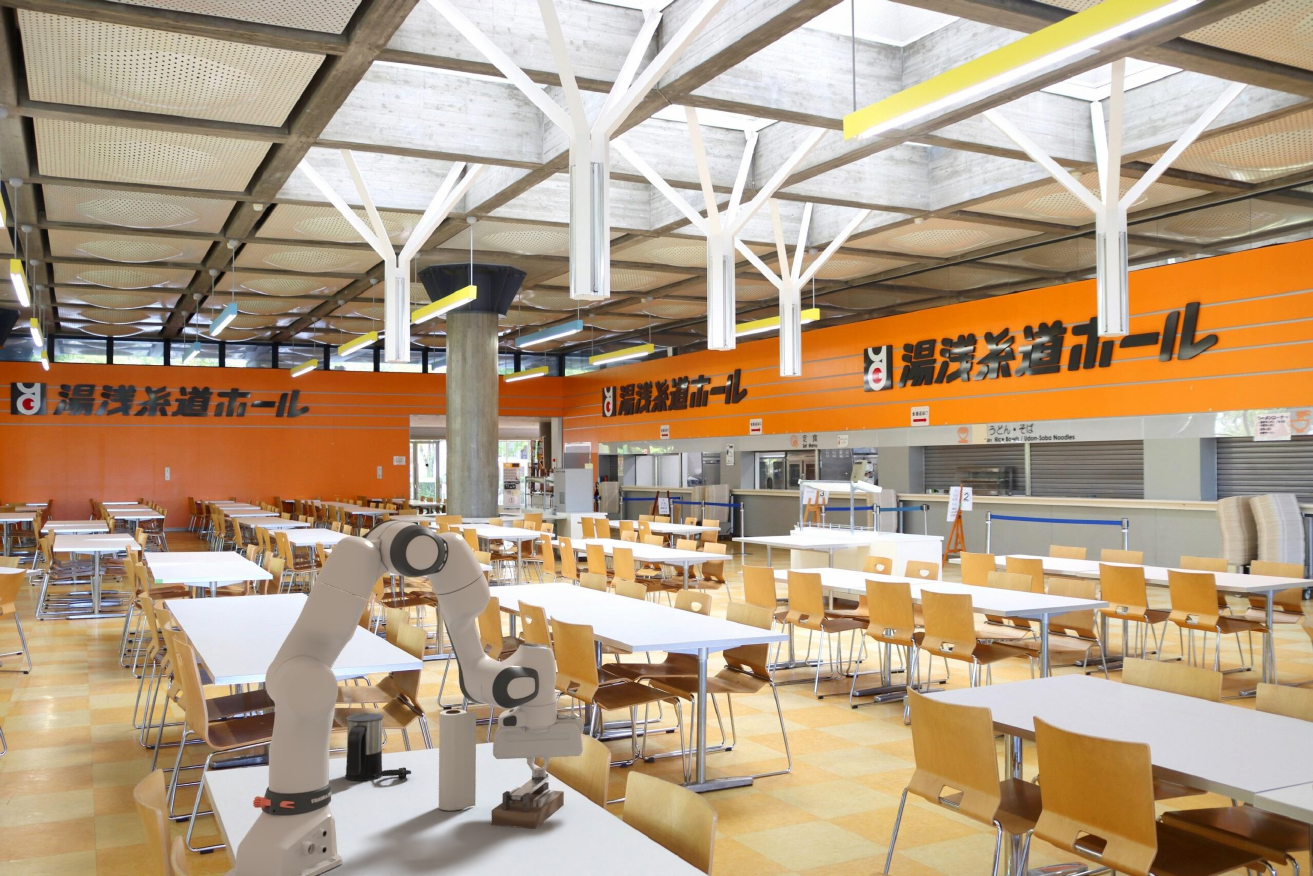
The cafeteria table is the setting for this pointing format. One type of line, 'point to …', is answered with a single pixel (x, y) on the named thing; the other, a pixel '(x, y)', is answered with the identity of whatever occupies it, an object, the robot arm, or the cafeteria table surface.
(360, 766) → the milk frother
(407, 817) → the cafeteria table surface
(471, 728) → the paper towel roll
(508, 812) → the wooden base lever press
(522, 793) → the beige-grey bar
